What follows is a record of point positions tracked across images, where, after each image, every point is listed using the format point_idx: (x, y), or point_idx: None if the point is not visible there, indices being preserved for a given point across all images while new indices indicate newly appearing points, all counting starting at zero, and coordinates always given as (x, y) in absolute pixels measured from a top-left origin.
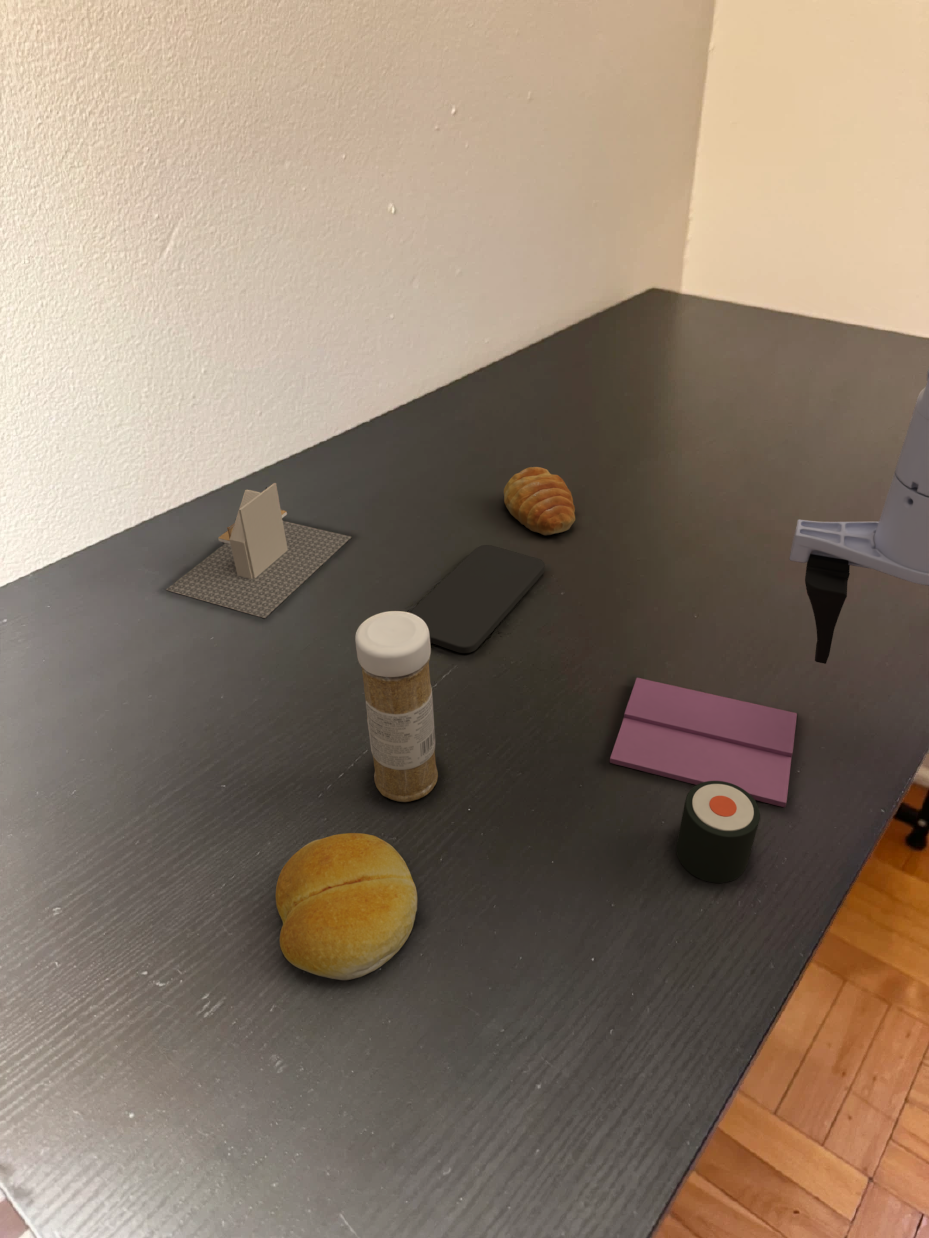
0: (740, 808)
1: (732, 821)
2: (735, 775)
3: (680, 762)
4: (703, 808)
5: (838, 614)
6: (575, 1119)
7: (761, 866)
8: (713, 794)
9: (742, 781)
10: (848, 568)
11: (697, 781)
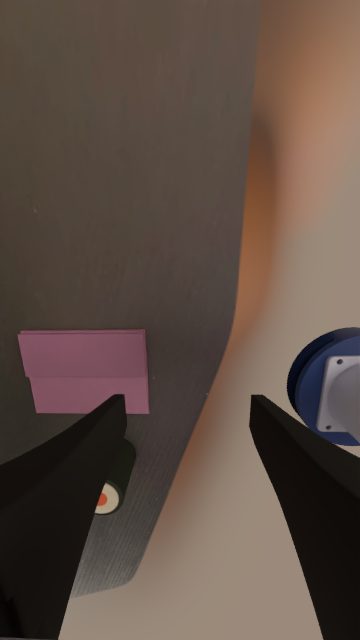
0: (109, 497)
1: (107, 506)
2: None
3: (78, 403)
4: None
5: (83, 544)
6: (99, 566)
7: (143, 452)
8: None
9: None
10: (19, 627)
11: None
